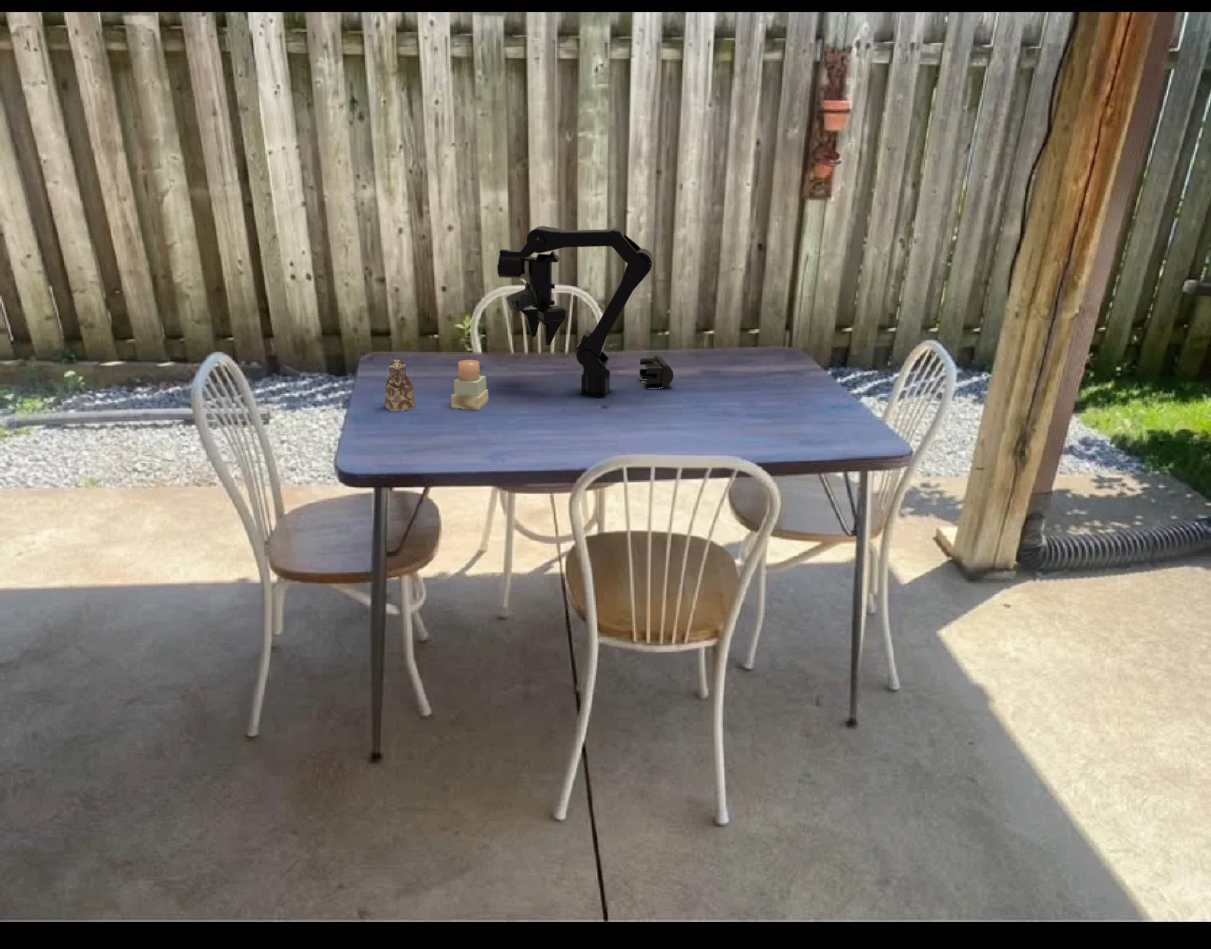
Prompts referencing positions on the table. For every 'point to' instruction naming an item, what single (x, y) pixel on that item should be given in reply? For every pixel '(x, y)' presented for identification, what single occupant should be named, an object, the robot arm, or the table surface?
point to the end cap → (655, 372)
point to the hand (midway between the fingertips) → (540, 340)
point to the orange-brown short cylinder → (468, 370)
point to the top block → (470, 387)
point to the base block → (469, 401)
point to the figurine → (399, 388)
